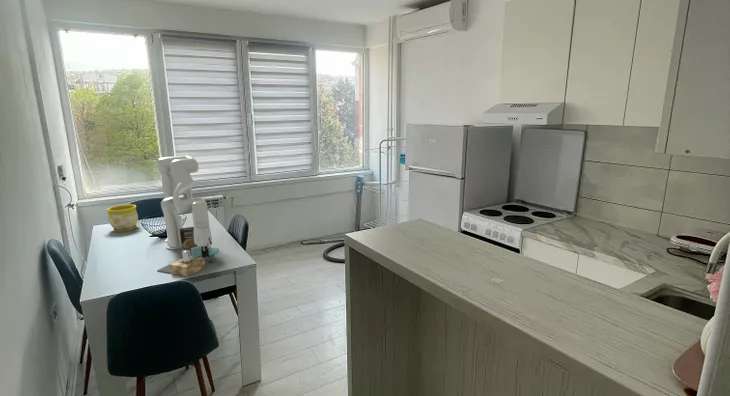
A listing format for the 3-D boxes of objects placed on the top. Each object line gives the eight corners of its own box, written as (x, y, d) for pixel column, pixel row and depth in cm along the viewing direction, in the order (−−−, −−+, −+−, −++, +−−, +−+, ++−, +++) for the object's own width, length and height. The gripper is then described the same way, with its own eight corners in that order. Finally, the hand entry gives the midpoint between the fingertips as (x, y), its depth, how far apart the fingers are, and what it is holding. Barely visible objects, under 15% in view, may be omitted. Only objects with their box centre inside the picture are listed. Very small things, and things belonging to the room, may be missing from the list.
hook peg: (183, 271, 198) (180, 251, 196) (188, 268, 202) (185, 249, 199) (188, 272, 197) (185, 252, 194) (194, 269, 200) (191, 250, 198)
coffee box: (182, 257, 216) (179, 231, 212) (182, 254, 222) (178, 228, 218) (199, 254, 220) (196, 228, 216) (199, 251, 226) (195, 225, 222)
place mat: (157, 271, 198) (157, 270, 198) (171, 264, 207) (170, 263, 206) (170, 273, 195) (169, 272, 195) (183, 266, 204) (183, 265, 203)
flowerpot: (136, 223, 283) (133, 203, 279) (142, 229, 270) (138, 207, 266) (108, 229, 271) (104, 207, 267) (113, 235, 258) (108, 212, 254)
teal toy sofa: (213, 256, 217) (211, 238, 214) (223, 259, 212) (221, 241, 210) (189, 266, 204) (186, 247, 202) (199, 269, 200) (196, 250, 197)
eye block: (170, 273, 196) (169, 264, 195) (188, 264, 207) (187, 256, 206) (188, 276, 192) (187, 267, 191) (205, 267, 203) (204, 258, 201)
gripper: (186, 223, 195) (191, 256, 199) (203, 228, 187) (207, 262, 191) (200, 220, 201) (204, 251, 205) (216, 224, 193) (220, 257, 197)
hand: (205, 256), depth 198 cm, fingers closed
